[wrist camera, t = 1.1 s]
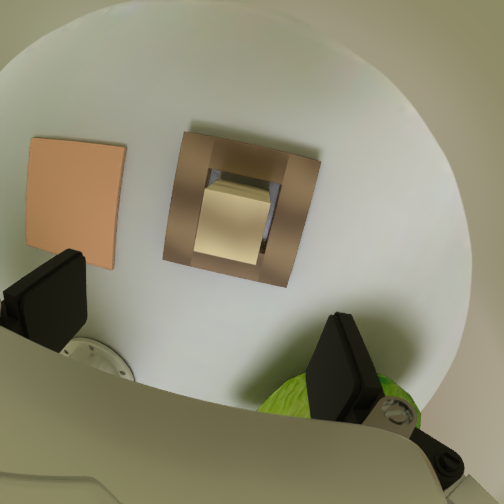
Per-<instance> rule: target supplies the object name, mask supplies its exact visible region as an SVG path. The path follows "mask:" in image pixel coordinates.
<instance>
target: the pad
mask: <svg viewBox="0 0 504 504" xmlns="http://www.w3.org/2000/svg"><path fill="white" fill-rule="evenodd" d="M126 149H127V147H120V146H112V145H105V144H96V143H87V142H78V141H68V140H57V139H45V138H31V144H30V153H29V163H28V176H27V194H26V242H27V245H29V246H32V247H35V248H39V249H42V250H45V251H48V252H51V253H54V254H59V253H61V252H63V251H64V250H66V249H68V248H70V249H74V250H77V251H81V252H82V254H83V256H84V257H85V259H86V263H88V264H91V265H95V266H98V267H102V268H105V269H109V270H113V269H114V255H115V240H116V227H117V216H118V207H119V198H120V190H121V182H122V175H123V168H124V161H125V155H126Z"/></svg>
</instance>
